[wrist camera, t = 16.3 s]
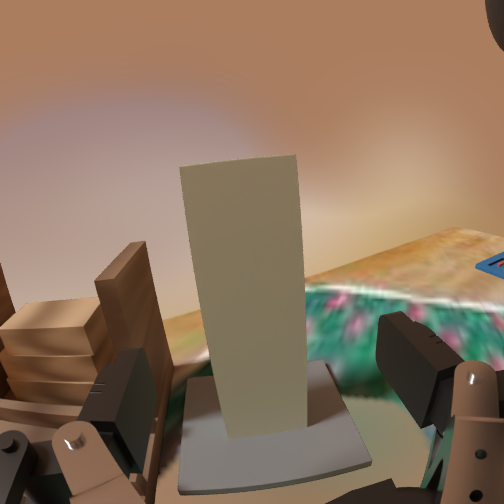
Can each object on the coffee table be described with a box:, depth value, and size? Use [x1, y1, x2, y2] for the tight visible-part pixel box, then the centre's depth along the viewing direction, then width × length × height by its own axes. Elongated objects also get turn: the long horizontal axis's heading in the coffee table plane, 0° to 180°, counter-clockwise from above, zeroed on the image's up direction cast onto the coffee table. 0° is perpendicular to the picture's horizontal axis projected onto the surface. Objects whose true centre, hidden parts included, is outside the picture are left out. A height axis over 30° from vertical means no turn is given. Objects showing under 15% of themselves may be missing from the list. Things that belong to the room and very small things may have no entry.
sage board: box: [179, 155, 307, 440], centre depth 17 cm, size 5×3×16 cm, turn 96°
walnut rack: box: [0, 241, 174, 504], centre depth 17 cm, size 16×16×12 cm
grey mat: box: [178, 359, 372, 495], centre depth 20 cm, size 11×11×1 cm
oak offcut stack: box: [0, 297, 117, 406], centre depth 21 cm, size 10×6×7 cm, turn 96°
